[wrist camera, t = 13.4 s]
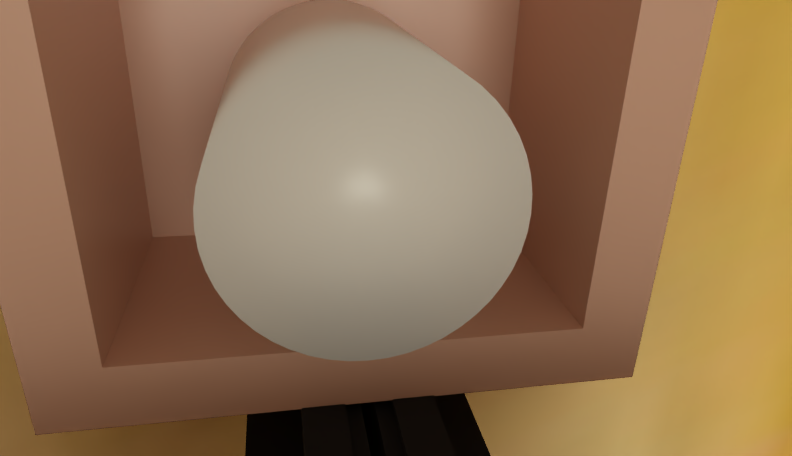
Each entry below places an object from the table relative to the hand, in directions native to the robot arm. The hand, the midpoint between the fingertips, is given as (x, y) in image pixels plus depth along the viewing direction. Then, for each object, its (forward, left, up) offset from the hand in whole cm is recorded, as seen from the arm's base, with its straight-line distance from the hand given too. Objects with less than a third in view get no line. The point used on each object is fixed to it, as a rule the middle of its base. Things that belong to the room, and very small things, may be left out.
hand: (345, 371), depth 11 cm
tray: (+8, +4, -1) cm, 9 cm away
